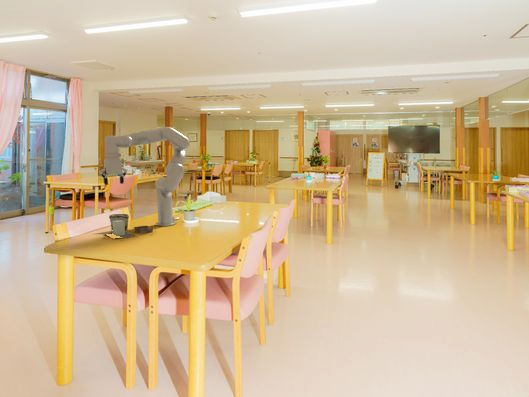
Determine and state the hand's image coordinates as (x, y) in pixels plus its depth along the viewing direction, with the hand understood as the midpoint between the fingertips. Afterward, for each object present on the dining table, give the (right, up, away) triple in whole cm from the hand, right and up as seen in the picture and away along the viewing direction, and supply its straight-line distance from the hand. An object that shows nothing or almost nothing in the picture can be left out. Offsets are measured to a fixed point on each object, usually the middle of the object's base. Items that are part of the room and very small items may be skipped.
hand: (114, 184), depth 240 cm
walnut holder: (+19, -29, -4) cm, 35 cm away
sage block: (+8, -30, -14) cm, 34 cm away
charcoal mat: (+8, -30, -14) cm, 34 cm away
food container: (+4, -29, +1) cm, 29 cm away
